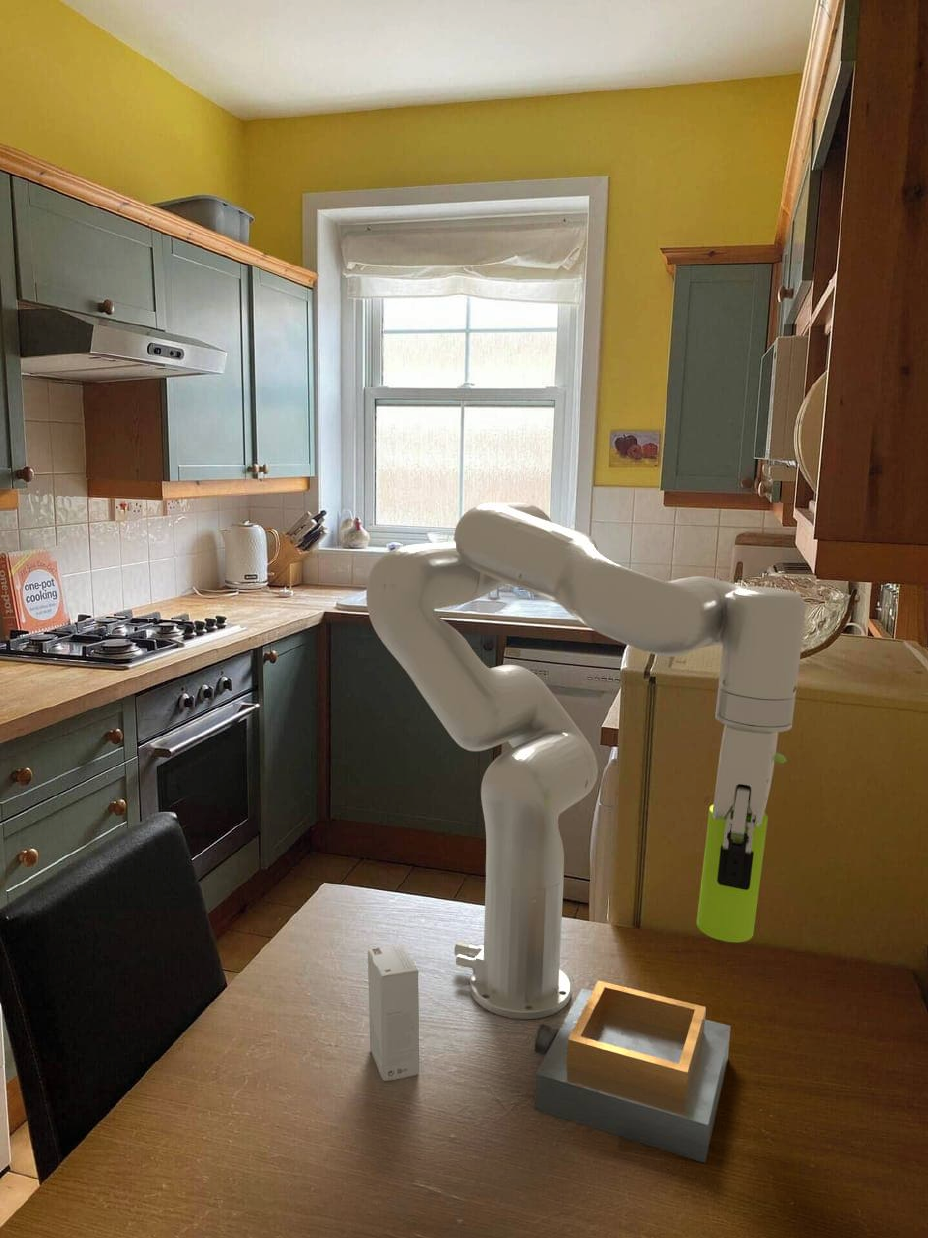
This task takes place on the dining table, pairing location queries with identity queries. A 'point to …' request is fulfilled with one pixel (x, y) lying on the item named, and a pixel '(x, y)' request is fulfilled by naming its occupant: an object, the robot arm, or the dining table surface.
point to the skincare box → (393, 1012)
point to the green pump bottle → (725, 906)
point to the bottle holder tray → (635, 1068)
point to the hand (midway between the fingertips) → (736, 871)
